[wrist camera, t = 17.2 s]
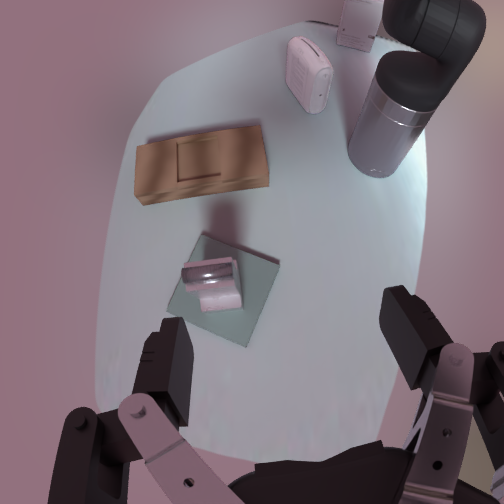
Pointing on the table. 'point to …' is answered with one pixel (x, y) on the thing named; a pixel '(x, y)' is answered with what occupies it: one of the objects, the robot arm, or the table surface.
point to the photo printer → (308, 74)
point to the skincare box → (359, 23)
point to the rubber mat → (252, 286)
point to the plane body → (201, 165)
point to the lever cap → (214, 284)
